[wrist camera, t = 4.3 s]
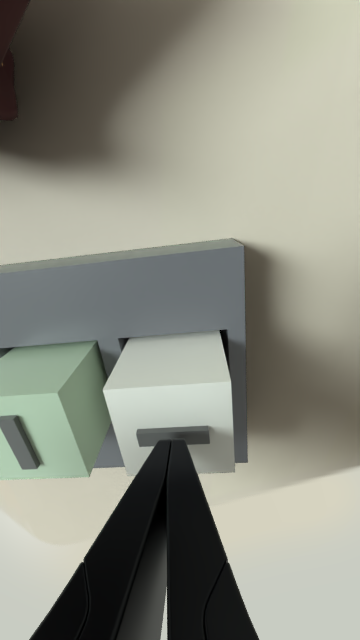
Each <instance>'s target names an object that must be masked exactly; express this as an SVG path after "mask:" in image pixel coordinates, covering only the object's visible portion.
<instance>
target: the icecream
mask: <svg viewBox="0 0 360 640" xmlns="http://www.w3.org/2000/svg"><path fill="white" fill-rule="evenodd" d="M29 2H30V0H0V120H6V121H12V120H14V119H16V118H17V117H18V109H17V101H16V95H15V89H14V59H13V54H12V52H11V51H10V49H9V46H10V44H11V42H12V40H13V37H14V35H15V33H16V31H17V28H18V26H19V24H20V22H21V19H22V17H23V15H24V13H25V11H26V8H27V6H28V4H29Z"/></svg>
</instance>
